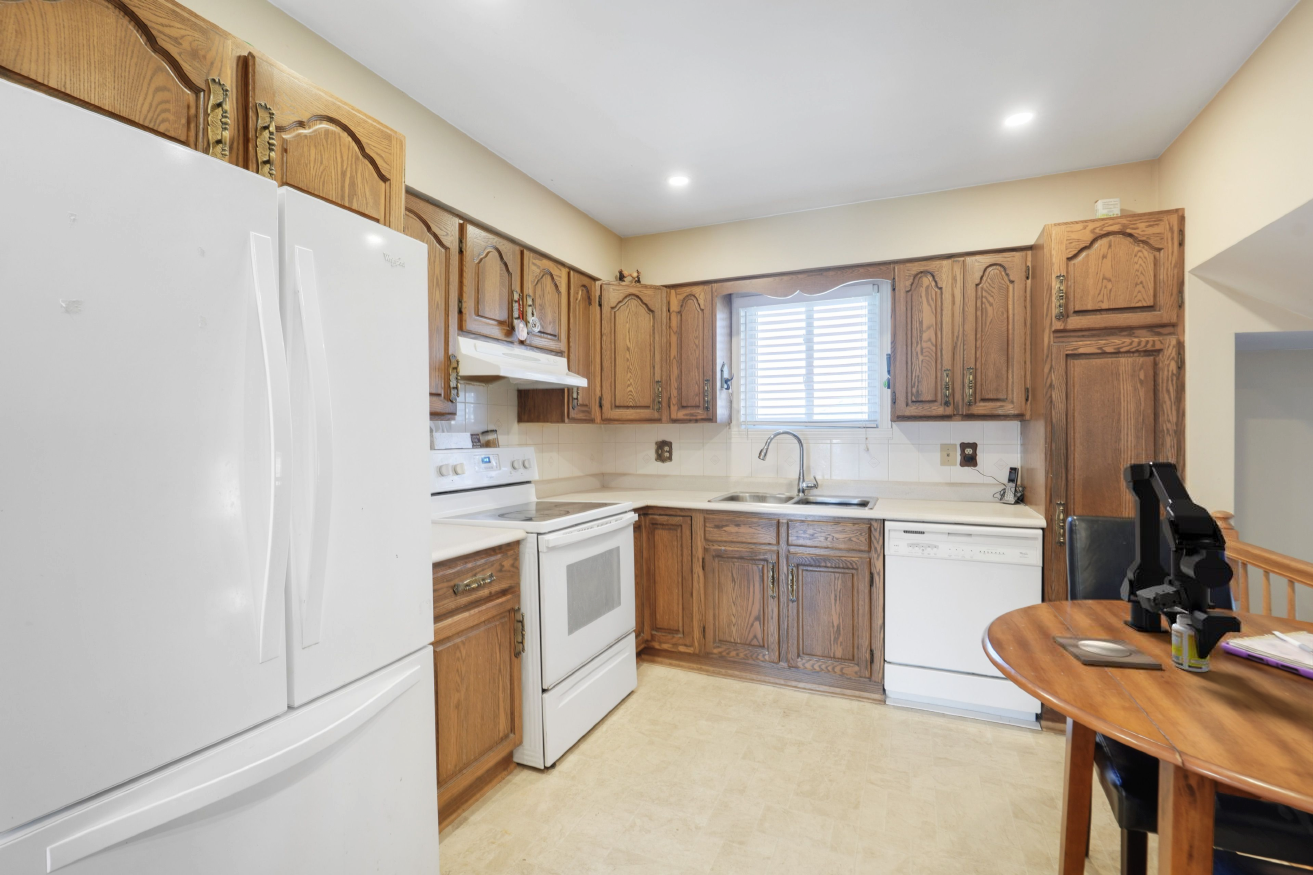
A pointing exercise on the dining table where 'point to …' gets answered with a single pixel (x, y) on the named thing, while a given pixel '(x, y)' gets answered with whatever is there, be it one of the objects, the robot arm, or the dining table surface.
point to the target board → (1106, 652)
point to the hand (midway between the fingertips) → (1190, 652)
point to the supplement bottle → (1186, 647)
